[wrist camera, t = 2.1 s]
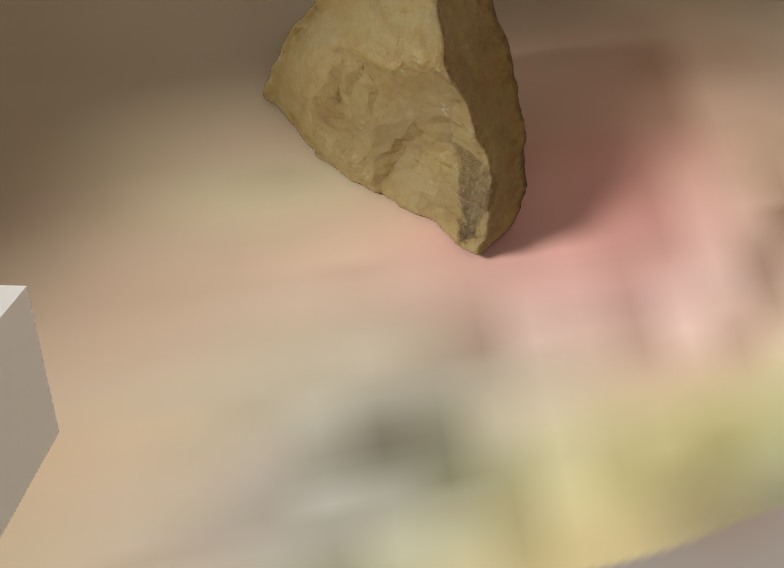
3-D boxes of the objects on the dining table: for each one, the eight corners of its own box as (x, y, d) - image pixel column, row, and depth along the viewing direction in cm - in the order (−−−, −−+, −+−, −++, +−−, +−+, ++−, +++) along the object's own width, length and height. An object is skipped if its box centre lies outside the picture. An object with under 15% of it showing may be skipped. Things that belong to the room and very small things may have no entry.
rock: (610, 211, 26) (527, -33, 27) (540, 203, 19) (429, -133, 20) (373, 295, 32) (310, 88, 33) (246, 315, 24) (169, 45, 25)
